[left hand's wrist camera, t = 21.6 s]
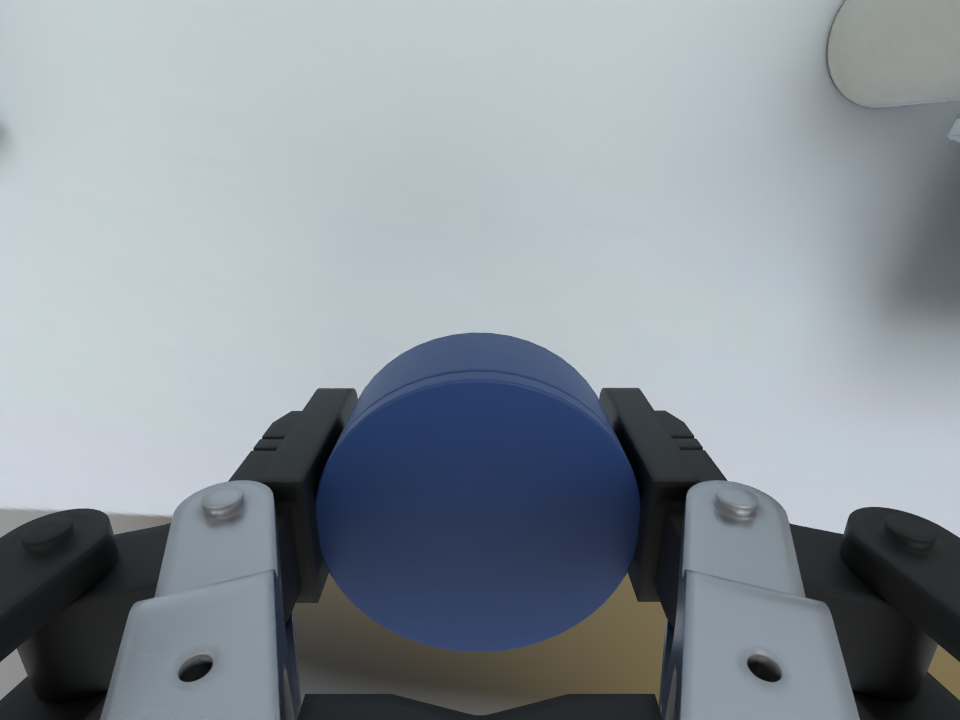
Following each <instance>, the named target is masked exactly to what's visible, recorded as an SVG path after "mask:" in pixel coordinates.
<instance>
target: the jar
mask: <svg viewBox="0 0 960 720" xmlns="http://www.w3.org/2000/svg"><path fill="white" fill-rule="evenodd" d="M828 66H829V70H830V74H831V77H832V79H833V81H834V83H835V85H836V87H837V88H838V90H839V91H840V92H841V93H842V94H843V95H844V96H845V97H846V98H847V99H849V100H850V101H852V102H853V103H856V104H858V105H860V106H865V107H870V108H883V107H894V106H905V105H917V104H928V103H939V102H950V101H960V0H845V2H844V4H843V5H842V7H841V8H840V10H839V12H838V14H837V16H836V18H835V21H834V23H833V26H832V29H831V33H830V36H829V42H828Z"/></svg>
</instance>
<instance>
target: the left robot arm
mask: <svg viewBox="0 0 960 720" xmlns="http://www.w3.org/2000/svg"><path fill="white" fill-rule="evenodd" d="M357 401H358V397H357V393H356V390H355V389H354V388H319V389H317V390H316V392H315V393H314V395H313V396H312V398H311V399H310V401H309V402H308V404H307V405H306V406H305V408H304V409H303V411H291V412H290V413H288V414H286V415H285V416H283V417H281V418H280V419H278V420H277V421H275V422H273V423H272V424H271V426H270V427H269V428H268V430H267V431H266V432H265V434H264V435H263V436H262V439H260V440H259V442H258V443H257V444H256V446H255V447H254V451H251V452H250V453H249V455H248V456H247V457H246V459H245V460H244V461H243V463H242V464H241V465H240V467H239V468H238V469H237V471H236V472H235V473H234V475H233V476H232V477H231V479H230V480H229V481H228V482H224V483H219V484H216V485H213V486H210V487H207V488H205V489H202V490H200V491H198V492H196V493H194V494H193V495H191V496H190V497H188V498H187V499H185V500H184V501H183V502H182V503H181V504H180V505H179V506H178V507H177V509H176V510H175V512H174V514H173V517H172V521H171V523H169V524H166V525H161V526H157V527H152V528H147V529H142V530H137V531H132V532H127V533H121V534H116V535H114V534H113V530H112V527H111V523H110V520H109V518H108V516H107V515H106V514H105V513H103V512H101V511H98V510H94V509H72V510H65V511H60V512H56V513H52V514H49V515H46V516H43V517H40V518H37V519H35V520H32V521H30V522H28V523H26V524H23V525H21V526H19V527H18V528H16V529H14V530H12V531H11V532H9V533H7V534H6V535H4V536H3V537H1V538H0V662H1V661H2V660H3V659H4V658H6V657H7V656H8V655H9V654H10V653H12V652H13V651H14V650H15V649H16V648H17V650H18V652H19V655H20V657H21V660H22V662H23V665H24V667H25V670H26V672H27V675H28V676H27V677H26V678H25V679H24V680H23V681H22V682H20V683H19V684H18V685H17V686H16V687H15V688H14V689H13V690H12V691H10V692H9V693H8V694H7V695H6V696H5V697H4V698H3V699H2V700H0V720H960V700H958V699H957V698H956V697H955V696H954V695H953V694H952V693H951V692H950V691H948V690H947V689H946V688H945V687H944V686H943V685H942V684H941V683H939V682H938V681H937V680H936V679H935V678H934V677H933V676H932V675H931V674H929V673H928V672H927V671H928V668H929V666H930V663H931V661H932V658H933V656H934V653H935V651H936V648H937V646H938V644H939V645H940V646H941V647H942V648H944V649H945V650H946V651H947V652H948V653H950V654H951V655H952V656H953V657H954V658H956V659H957V660H958V661H959V662H960V538H959V537H957V536H956V535H954V534H953V533H951V532H949V531H948V530H946V529H944V528H943V527H941V526H939V525H937V524H935V523H933V522H931V521H929V520H927V519H924V518H922V517H919V516H916V515H913V514H911V513H907V512H903V511H900V510H895V509H890V508H882V507H867V508H861V509H858V510H855V511H853V512H852V513H851V514H850V516H849V518H848V521H847V524H846V528H845V531H844V534H839V533H834V532H829V531H823V530H818V529H813V528H808V527H803V526H798V525H794V524H789V521H788V517H787V514H786V512H785V510H784V509H783V507H782V506H781V505H780V504H779V503H778V502H777V501H776V500H775V499H773V498H772V497H770V496H769V495H767V494H766V493H764V492H762V491H760V490H758V489H755V488H753V487H750V486H747V485H744V484H741V483H736V482H731V481H727V479H726V478H725V477H724V475H723V474H722V473H721V471H720V470H719V469H718V467H717V466H716V465H715V463H714V462H713V461H712V459H711V458H710V457H709V455H708V454H707V453H706V451H705V450H703V447H702V446H701V445H700V443H699V442H698V440H697V439H694V435H693V434H692V432H691V431H690V430H689V428H688V427H687V426H686V424H685V423H684V422H683V421H681V420H679V419H678V418H676V417H674V416H673V415H671V414H670V413H668V412H666V411H654V410H653V408H652V407H651V405H650V404H649V402H648V401H647V399H646V398H645V396H644V395H643V393H642V392H641V390H640V389H639V388H603V389H602V390H601V393H600V397H599V401H600V403H601V405H602V407H603V409H604V411H605V413H606V415H607V417H608V419H609V421H610V423H611V425H612V427H613V430H614V432H615V434H616V436H617V438H618V440H619V442H620V444H621V446H622V448H623V450H624V452H625V454H626V457H627V459H628V461H629V463H630V465H631V467H632V469H633V472H634V475H635V478H636V481H637V484H638V487H639V492H640V498H641V510H640V519H639V527H638V535H637V543H636V550H635V556H634V559H633V561H632V563H631V565H630V567H629V569H628V571H627V572H628V574H629V577H630V580H631V583H632V586H633V589H634V592H635V594H636V597H637V600H638V602H661V604H662V607H663V609H664V612H665V615H666V617H667V623H666V630H665V638H664V650H663V662H662V674H661V686H660V699H659V706H658V703H657V700H656V697H655V694H567V695H563V696H559V697H555V698H551V699H547V700H544V701H540V702H536V703H532V704H528V705H525V706H520V707H517V708H513V709H509V710H505V711H501V712H497V713H493V714H489V715H471V714H467V713H463V712H459V711H455V710H451V709H447V708H444V707H439V706H436V705H432V704H428V703H424V702H420V701H416V700H413V699H409V698H405V697H401V696H397V695H393V694H305V697H304V700H303V703H302V706H301V698H300V686H299V674H298V662H297V650H296V638H295V630H294V623H293V617H292V610H293V607H294V605H295V603H318V601H319V599H320V596H321V593H322V590H323V587H324V585H325V582H326V579H327V576H328V573H329V571H328V569H327V567H326V564H325V562H324V560H323V557H322V554H321V548H320V540H319V532H318V524H317V516H316V506H315V498H316V494H317V489H318V485H319V481H320V478H321V476H322V473H323V470H324V468H325V465H326V463H327V461H328V459H329V457H330V455H331V453H332V451H333V449H334V447H335V445H336V443H337V441H338V439H339V437H340V435H341V433H342V431H343V429H344V426H345V424H346V422H347V420H348V418H349V416H350V414H351V412H352V410H353V408H354V406H355V404H356V402H357Z"/></svg>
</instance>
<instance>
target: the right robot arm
mask: <svg viewBox="0 0 960 720" xmlns="http://www.w3.org/2000/svg"><path fill="white" fill-rule="evenodd" d="M947 137H948V138H949V139H950V140H953V141H957V142H960V112H959V114H958V116H957V119H956V121H955V123H954V125H953V127H952V128H951V130H950V132H949V134H948V136H947Z"/></svg>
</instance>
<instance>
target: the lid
mask: <svg viewBox="0 0 960 720" xmlns="http://www.w3.org/2000/svg"><path fill="white" fill-rule="evenodd" d="M315 506H316V516H317V524H318V532H319V540H320V548H321V554H322V557H323V560H324V562H325V564H326V567H327V569H328V571H329V572H330V574H331V576H332V577H333V579H334V581H335V582H336V584H337V585H338V587H339V588H340V589H341V590H342V592H343V593H344V594H345V595H346V596H347V598H348V599H349V600H350V601H351V602H352V603H353V604H354V605H355V606H356V607H357V608H358V609H360V610H361V611H362V612H363V613H364V614H366V615H367V616H368V617H370V618H371V619H372V620H374V621H375V622H376V623H378V624H380V625H382V626H383V627H385V628H387V629H388V630H390V631H392V632H394V633H396V634H398V635H401V636H403V637H405V638H407V639H410V640H413V641H416V642H419V643H422V644H425V645H428V646H433V647H437V648H442V649H447V650H455V651H464V652H491V651H503V650H509V649H514V648H520V647H524V646H528V645H531V644H535V643H538V642H541V641H544V640H546V639H549V638H551V637H554V636H556V635H559V634H560V633H562V632H564V631H566V630H568V629H570V628H572V627H574V626H575V625H577V624H578V623H580V622H581V621H583V620H584V619H586V618H587V617H588V616H590V615H591V614H592V613H593V612H595V611H596V610H597V609H598V608H599V607H600V606H601V605H602V604H604V603H605V601H606V600H607V599H608V598H609V597H610V596H611V595H612V594H613V592H614V591H615V590H616V589H617V587H618V586H619V584H620V583H621V581H622V580H623V578H624V577H625V575H626V574H627V571H628V569H629V567H630V565H631V563H632V561H633V559H634V556H635V550H636V543H637V535H638V527H639V519H640V510H641V498H640V492H639V487H638V484H637V481H636V478H635V475H634V472H633V469H632V467H631V465H630V463H629V461H628V459H627V457H626V454H625V452H624V450H623V448H622V446H621V444H620V442H619V440H618V438H617V436H616V434H615V432H614V430H613V427H612V425H611V423H610V421H609V419H608V417H607V415H606V413H605V411H604V409H603V407H602V405H601V403H600V401H599V399H598V397H597V395H596V394H595V392H594V391H593V389H592V388H591V387H590V385H589V384H588V382H587V381H586V380H585V379H584V378H583V377H582V376H581V375H580V374H579V373H578V372H577V371H576V370H575V368H573V367H572V366H571V365H570V364H568V363H567V362H566V361H564V360H563V359H562V358H561V357H559V356H557V355H556V354H554V353H552V352H550V351H549V350H547V349H545V348H543V347H541V346H539V345H536V344H534V343H531V342H529V341H526V340H523V339H519V338H515V337H512V336H507V335H500V334H493V333H465V334H456V335H450V336H446V337H442V338H437V339H434V340H431V341H428V342H426V343H423V344H420V345H418V346H416V347H414V348H412V349H410V350H408V351H406V352H404V353H402V354H401V355H399V356H398V357H397V358H395V359H394V360H392V361H391V362H390V363H388V364H387V365H386V366H385V367H384V368H383V369H382V370H381V371H380V372H378V373H377V374H376V375H375V376H374V377H373V379H372V380H371V381H370V383H369V384H368V385H367V386H366V388H365V389H364V390H363V392H362V394H361V395H360V397H359V399H358V401H357V402H356V404H355V406H354V408H353V410H352V412H351V414H350V416H349V418H348V420H347V422H346V424H345V426H344V429H343V431H342V433H341V435H340V437H339V439H338V441H337V443H336V445H335V447H334V449H333V451H332V453H331V455H330V457H329V459H328V461H327V463H326V465H325V468H324V470H323V473H322V476H321V478H320V481H319V485H318V489H317V494H316V498H315Z"/></svg>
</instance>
